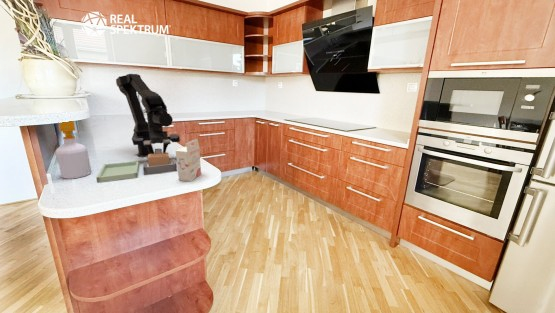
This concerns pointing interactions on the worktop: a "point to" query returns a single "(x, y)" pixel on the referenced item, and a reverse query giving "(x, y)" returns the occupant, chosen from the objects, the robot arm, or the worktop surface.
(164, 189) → the worktop surface
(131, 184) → the worktop surface
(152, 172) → the printer bay
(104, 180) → the tray
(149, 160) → the raised panel orange block
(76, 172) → the soap bottle
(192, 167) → the ink cartridge box
